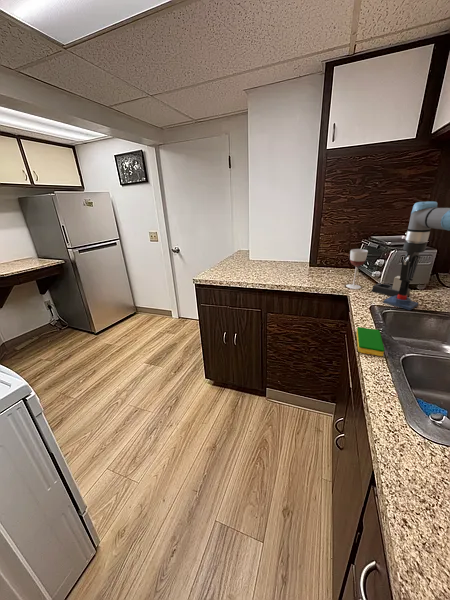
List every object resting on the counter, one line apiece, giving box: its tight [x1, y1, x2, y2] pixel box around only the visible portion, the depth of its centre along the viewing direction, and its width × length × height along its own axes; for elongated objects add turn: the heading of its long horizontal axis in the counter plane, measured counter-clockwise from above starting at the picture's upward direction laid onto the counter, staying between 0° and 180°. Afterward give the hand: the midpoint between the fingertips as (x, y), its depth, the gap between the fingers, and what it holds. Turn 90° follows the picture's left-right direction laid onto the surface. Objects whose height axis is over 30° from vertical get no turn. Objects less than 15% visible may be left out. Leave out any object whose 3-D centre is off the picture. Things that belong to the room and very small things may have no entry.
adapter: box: [371, 282, 411, 297], centre depth 125 cm, size 14×8×3 cm, turn 35°
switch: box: [397, 294, 408, 300], centre depth 112 cm, size 4×4×2 cm
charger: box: [392, 275, 401, 291], centre depth 122 cm, size 4×4×9 cm
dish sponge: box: [356, 326, 385, 357], centre depth 85 cm, size 7×14×2 cm, turn 156°
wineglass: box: [345, 248, 369, 290], centre depth 133 cm, size 8×9×20 cm
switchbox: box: [382, 295, 419, 311], centre depth 113 cm, size 11×8×3 cm
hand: (402, 294), depth 112 cm, fingers closed
